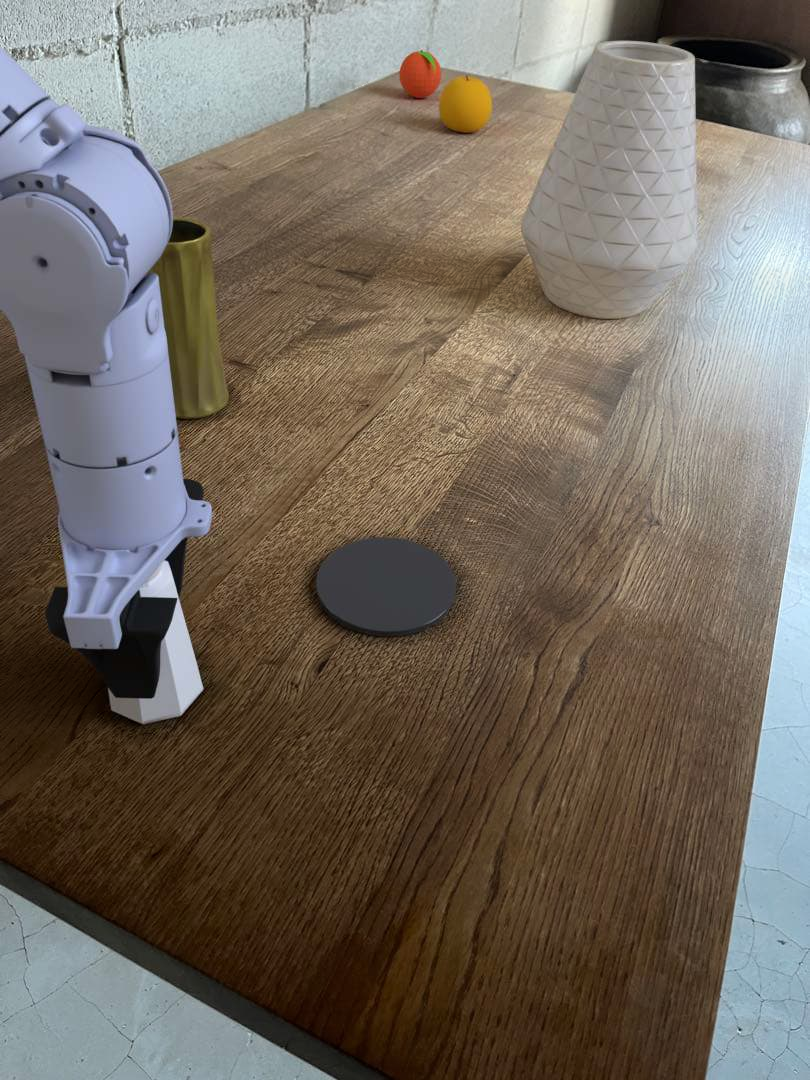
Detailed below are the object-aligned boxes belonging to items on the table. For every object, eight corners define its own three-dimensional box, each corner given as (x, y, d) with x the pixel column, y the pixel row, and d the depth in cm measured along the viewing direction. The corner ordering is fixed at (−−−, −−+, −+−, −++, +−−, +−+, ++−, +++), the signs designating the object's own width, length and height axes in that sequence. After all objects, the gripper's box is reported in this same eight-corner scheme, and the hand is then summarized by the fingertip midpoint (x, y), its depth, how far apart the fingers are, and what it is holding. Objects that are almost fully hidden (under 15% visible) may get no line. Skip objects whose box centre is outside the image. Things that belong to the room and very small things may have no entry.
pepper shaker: (120, 649, 54) (90, 499, 47) (213, 656, 54) (196, 506, 47) (92, 722, 50) (54, 569, 43) (193, 729, 50) (171, 577, 43)
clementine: (451, 102, 152) (455, 55, 147) (415, 106, 149) (418, 58, 144) (424, 90, 157) (428, 44, 153) (390, 94, 154) (392, 46, 150)
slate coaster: (311, 634, 56) (311, 629, 55) (319, 540, 63) (319, 534, 62) (459, 638, 56) (460, 633, 56) (451, 544, 63) (452, 539, 63)
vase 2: (590, 349, 86) (644, 83, 72) (479, 279, 97) (506, 36, 83) (715, 312, 94) (787, 66, 80) (600, 252, 105) (644, 25, 91)
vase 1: (223, 422, 73) (208, 248, 64) (145, 418, 73) (120, 243, 64) (233, 383, 78) (221, 216, 69) (160, 380, 78) (139, 212, 69)
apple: (463, 140, 136) (468, 85, 131) (426, 127, 140) (430, 73, 135) (499, 132, 140) (506, 78, 135) (463, 119, 144) (468, 67, 140)
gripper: (173, 538, 35) (202, 757, 44) (223, 357, 47) (239, 560, 55) (-13, 532, 35) (53, 754, 44) (83, 351, 46) (120, 556, 55)
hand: (148, 645), depth 50 cm, fingers open, 6 cm apart
